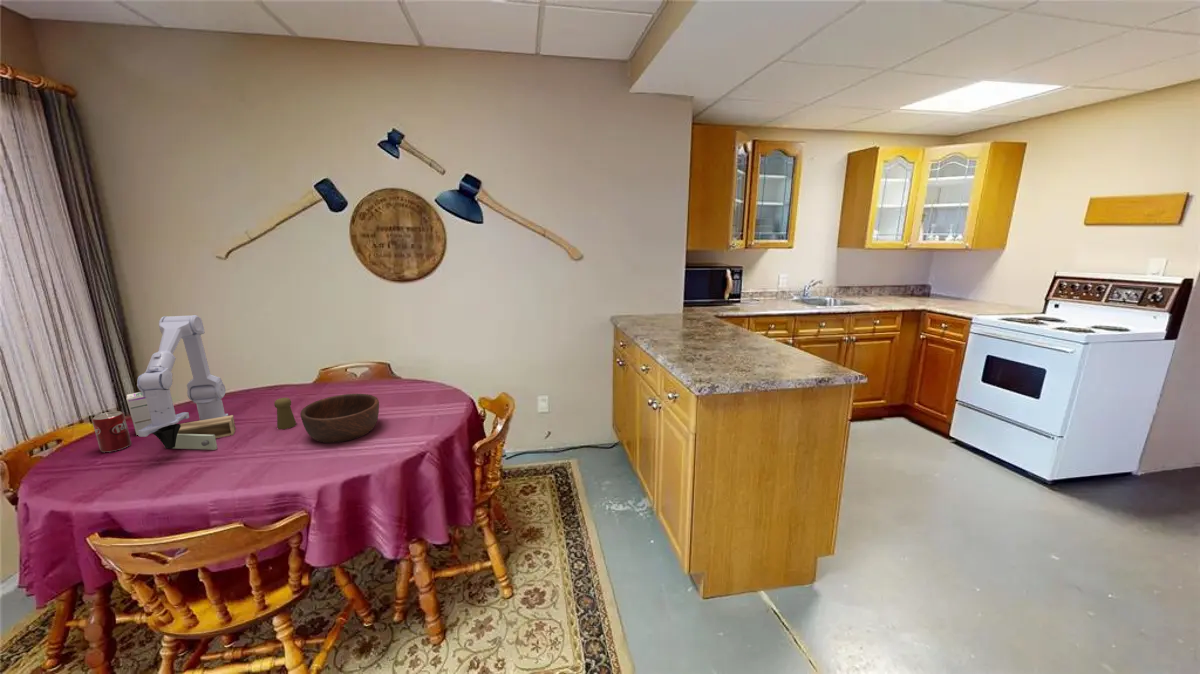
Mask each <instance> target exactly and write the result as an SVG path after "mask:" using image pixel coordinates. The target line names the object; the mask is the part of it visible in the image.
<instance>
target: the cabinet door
mask: <svg viewBox="0 0 1200 674" xmlns="http://www.w3.org/2000/svg"><path fill="white" fill-rule="evenodd" d="M217 444H218V443H217V438H215V435H207V434H177V437H176V444H175V447H173V448H172V449H179V450H180V449H181V450H183V449H186V450H211V451H212V450H213V451H214V450H217V449H218V445H217Z"/></svg>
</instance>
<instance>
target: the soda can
mask: <svg viewBox="0 0 1200 674" xmlns="http://www.w3.org/2000/svg"><path fill="white" fill-rule="evenodd" d="M91 423H92V426H93V429H94V433H95V437H96V441H97V444H98V448H99V450H100V452H102V453H105V452H109V453H112V452H111V451H115V452H117V451H116V450H119V451H121V450H120V449H122V450H124V449H123V448H125V449H127V448H129V447H130V446H131V445H132V441H131V435H130V432H129V427H128V424H127V421H126V417H125V413H124V412H123V411H109V412H103V413H99V414H97V415H95V416H94V417H93V418H92V419H91ZM128 446H129V447H128ZM126 447H127V448H126Z"/></svg>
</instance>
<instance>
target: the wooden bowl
mask: <svg viewBox="0 0 1200 674" xmlns="http://www.w3.org/2000/svg"><path fill="white" fill-rule="evenodd" d="M379 412H380V401H379V398H378V397H377V396H375V395H372V394H366V393H346V394H339V395H338V394H337V395H333V396H330V397H326V398H322V399H318V400H315V401H314V402H312V403H309V404H307V405H306V406H305V407H303V408H302V409H301V410H300V419H301V422H302V424H303V427H304V429H305V431H306V433H307V434H308V435H309V436H310V438H312V439H313V440H314V441H317V442H320V443H326V444H329V443H330V444H331V443H332V444H333V443H342V442H348V441H352V440H355V439H358V438H361V437H363V436H365V435H367V434H369V433H370V432H371V431H372V430H373V429H374V428H375V426H376V424H377V421H378V419H379ZM369 431H370V432H369ZM366 433H367V434H366ZM360 436H361V437H360ZM357 437H358V438H357Z"/></svg>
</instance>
